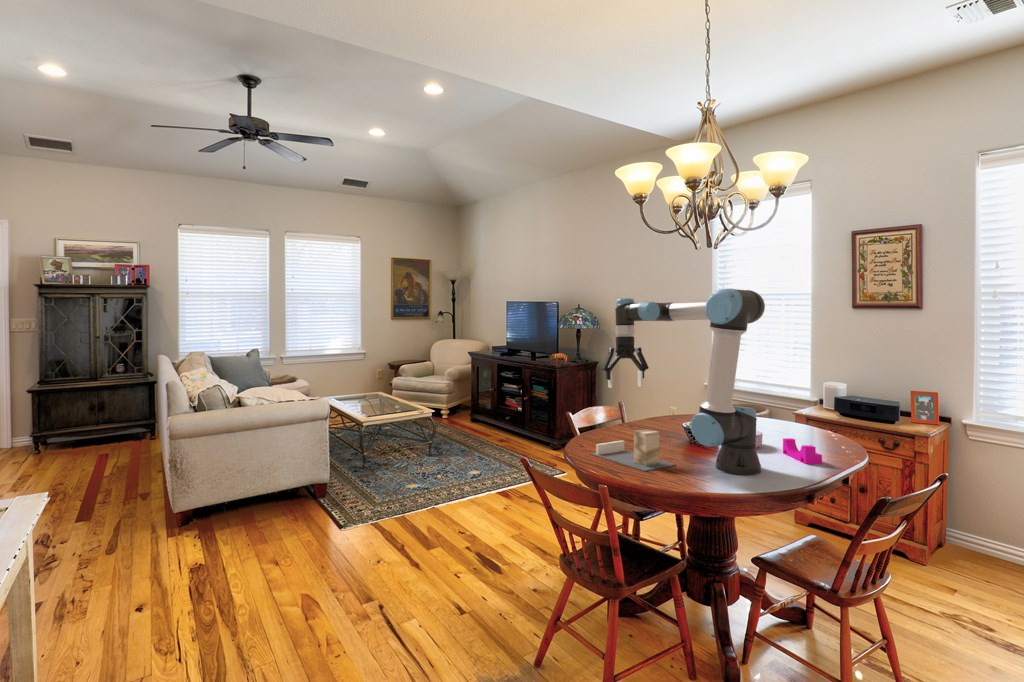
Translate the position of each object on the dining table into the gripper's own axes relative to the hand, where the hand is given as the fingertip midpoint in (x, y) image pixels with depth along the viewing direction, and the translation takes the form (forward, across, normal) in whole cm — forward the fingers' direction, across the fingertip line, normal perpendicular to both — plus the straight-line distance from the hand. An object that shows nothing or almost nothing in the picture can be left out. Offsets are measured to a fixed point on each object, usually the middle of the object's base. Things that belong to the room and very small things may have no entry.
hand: (625, 387), depth 219 cm
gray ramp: (+27, +5, +14) cm, 30 cm away
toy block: (+28, -57, +33) cm, 71 cm away
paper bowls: (+27, -48, +11) cm, 56 cm away
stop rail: (+26, +8, +2) cm, 27 cm away
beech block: (+26, +3, +21) cm, 34 cm away
